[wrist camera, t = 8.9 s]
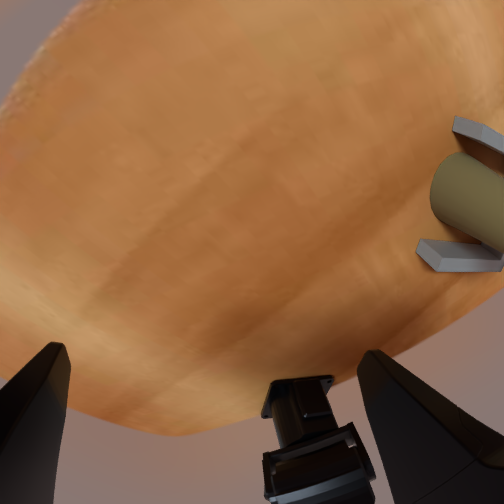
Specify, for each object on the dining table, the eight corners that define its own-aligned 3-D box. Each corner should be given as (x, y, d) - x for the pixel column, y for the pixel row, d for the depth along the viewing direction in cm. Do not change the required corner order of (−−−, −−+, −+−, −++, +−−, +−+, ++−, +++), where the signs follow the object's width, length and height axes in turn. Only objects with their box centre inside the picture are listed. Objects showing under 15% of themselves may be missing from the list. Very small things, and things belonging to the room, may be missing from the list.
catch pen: (482, 255, 25) (501, 271, 23) (415, 251, 23) (436, 271, 20) (517, 149, 20) (540, 160, 17) (455, 115, 18) (483, 124, 15)
